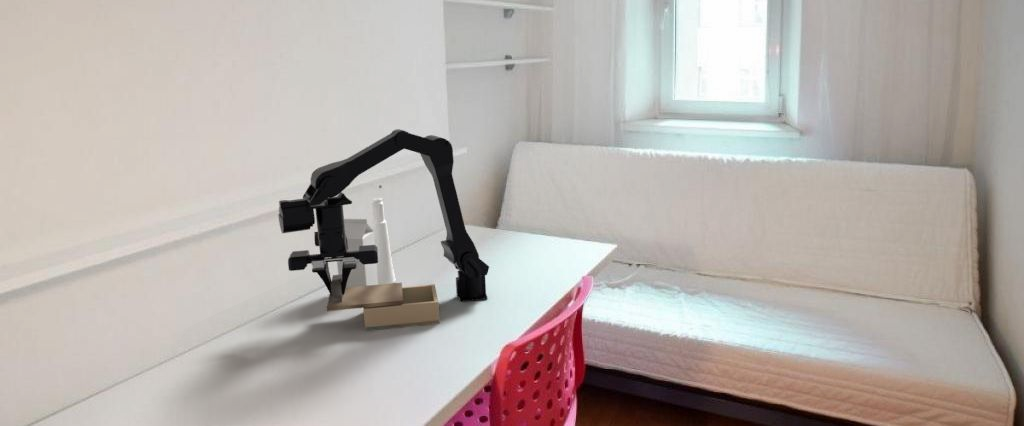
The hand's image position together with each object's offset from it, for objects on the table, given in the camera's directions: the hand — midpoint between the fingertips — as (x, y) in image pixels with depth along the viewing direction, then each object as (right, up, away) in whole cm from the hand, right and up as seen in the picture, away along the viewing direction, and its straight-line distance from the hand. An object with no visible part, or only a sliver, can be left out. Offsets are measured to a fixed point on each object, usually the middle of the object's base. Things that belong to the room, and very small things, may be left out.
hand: (337, 294), depth 158 cm
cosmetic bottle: (+5, 0, +28) cm, 29 cm away
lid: (+6, -1, +1) cm, 6 cm away
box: (+14, -5, +4) cm, 15 cm away
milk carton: (+1, -2, +20) cm, 21 cm away
